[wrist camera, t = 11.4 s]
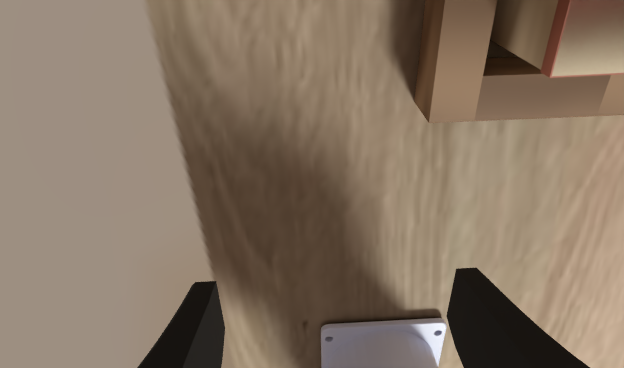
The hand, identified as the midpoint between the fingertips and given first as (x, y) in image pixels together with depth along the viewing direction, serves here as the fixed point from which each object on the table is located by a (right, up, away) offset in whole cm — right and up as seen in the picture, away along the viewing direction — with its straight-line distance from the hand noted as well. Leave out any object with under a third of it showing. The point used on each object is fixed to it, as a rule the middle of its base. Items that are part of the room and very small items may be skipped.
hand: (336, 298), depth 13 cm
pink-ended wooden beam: (+8, +11, +5) cm, 15 cm away
